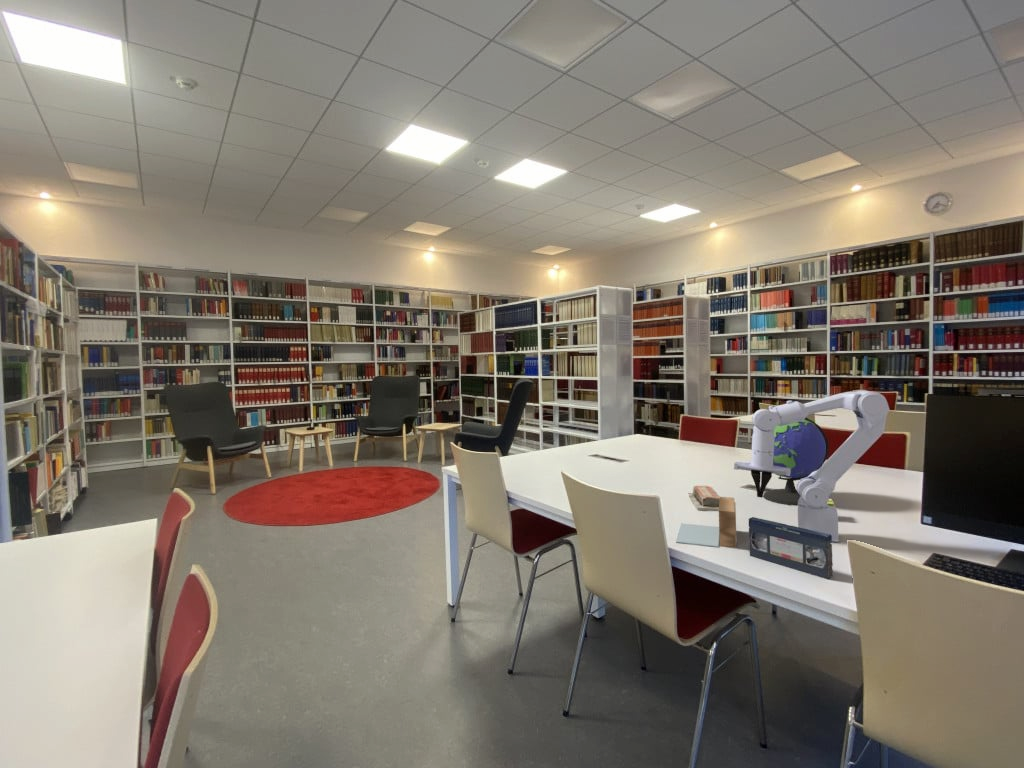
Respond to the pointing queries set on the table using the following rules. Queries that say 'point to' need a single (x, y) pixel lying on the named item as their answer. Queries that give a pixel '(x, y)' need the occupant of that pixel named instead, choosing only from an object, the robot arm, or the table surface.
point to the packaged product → (704, 498)
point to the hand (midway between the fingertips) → (759, 496)
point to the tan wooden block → (727, 522)
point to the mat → (698, 535)
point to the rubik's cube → (830, 502)
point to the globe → (797, 456)
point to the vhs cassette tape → (791, 547)
